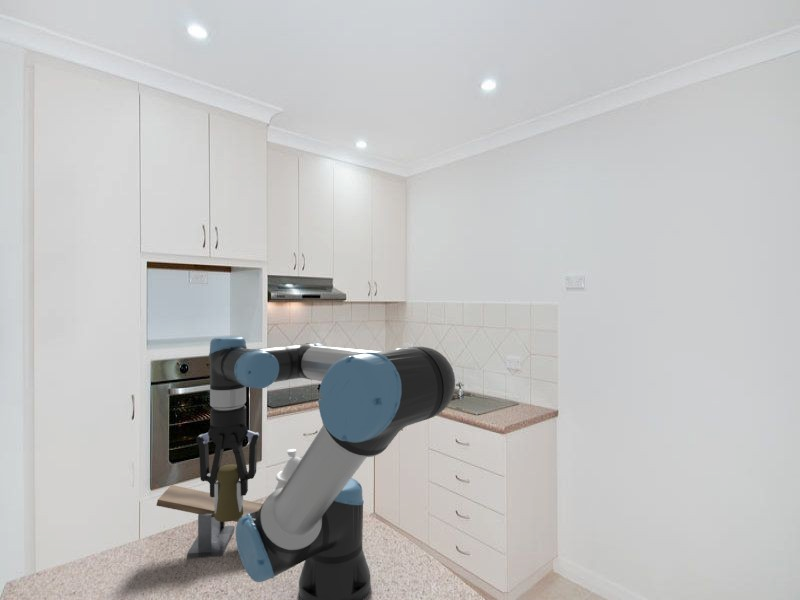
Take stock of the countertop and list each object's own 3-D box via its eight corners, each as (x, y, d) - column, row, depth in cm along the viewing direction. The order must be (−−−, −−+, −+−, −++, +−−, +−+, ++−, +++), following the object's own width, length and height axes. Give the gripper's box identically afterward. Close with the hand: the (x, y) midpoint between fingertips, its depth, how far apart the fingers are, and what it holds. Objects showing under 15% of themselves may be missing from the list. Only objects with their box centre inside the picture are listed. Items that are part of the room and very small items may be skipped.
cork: (233, 523, 96) (233, 472, 96) (208, 520, 97) (208, 470, 97) (248, 509, 102) (248, 462, 102) (225, 507, 103) (224, 460, 103)
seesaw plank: (255, 530, 108) (257, 521, 108) (154, 509, 105) (156, 500, 105) (262, 511, 117) (264, 503, 117) (169, 492, 114) (172, 483, 114)
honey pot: (263, 514, 126) (263, 451, 125) (303, 500, 134) (303, 441, 134) (285, 533, 116) (285, 464, 116) (327, 516, 125) (327, 453, 124)
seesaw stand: (222, 556, 106) (222, 514, 106) (187, 558, 105) (187, 516, 105) (234, 530, 117) (234, 492, 117) (203, 531, 116) (202, 494, 116)
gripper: (270, 400, 104) (271, 500, 104) (194, 403, 102) (194, 504, 102) (264, 408, 96) (265, 515, 97) (181, 411, 94) (182, 520, 95)
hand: (229, 509), depth 99 cm, fingers closed on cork, 4 cm apart
